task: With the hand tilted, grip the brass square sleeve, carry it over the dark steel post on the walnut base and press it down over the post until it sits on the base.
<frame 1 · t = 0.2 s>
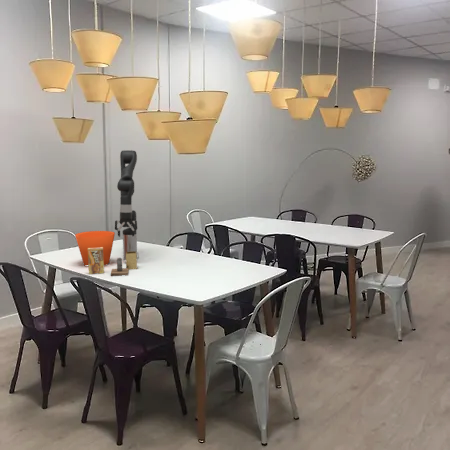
hand: (126, 236, 315), 18 cm above the table, tool pointing down, fingers open, 8 cm apart
flowerpot: (96, 264, 318), on the table
candy box: (96, 273, 293), on the table
sleeve: (131, 268, 305), on the table
post base: (119, 273, 292), on the table
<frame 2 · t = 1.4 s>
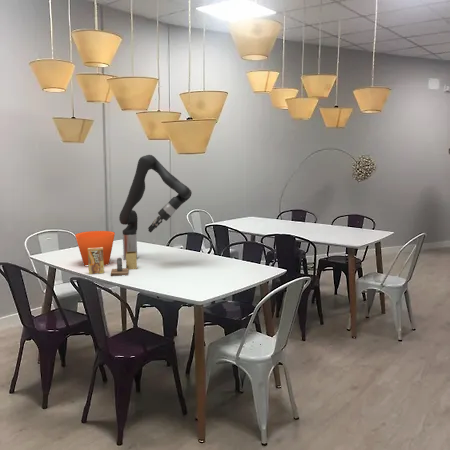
hand: (149, 230, 304), 24 cm above the table, tool tilted 45°, fingers open, 8 cm apart
nothing on the table moved.
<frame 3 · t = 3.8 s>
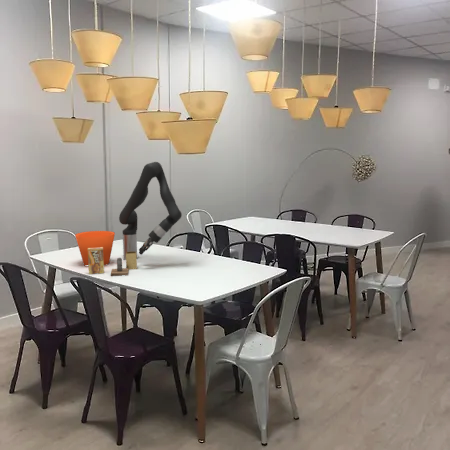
hand: (139, 252, 305), 10 cm above the table, tool tilted 45°, fingers open, 8 cm apart
nothing on the table moved.
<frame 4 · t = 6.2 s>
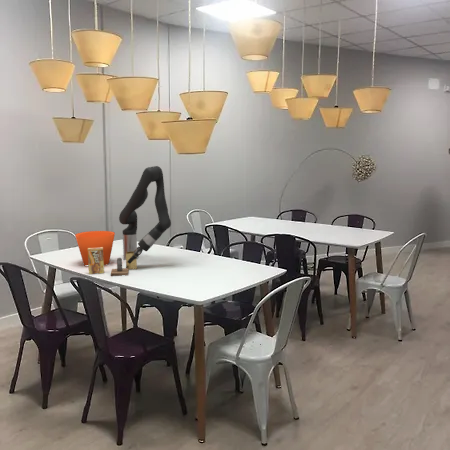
hand: (128, 261, 304), 4 cm above the table, tool tilted 45°, fingers closed on sleeve, 6 cm apart
sleeve: (131, 268, 305), on the table, touching gripper
everything else where it was.
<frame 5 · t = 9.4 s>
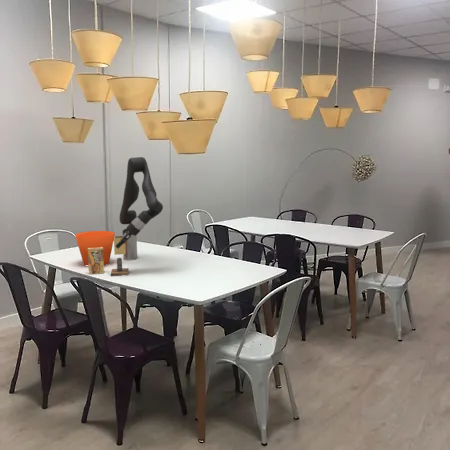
hand: (117, 246, 290), 16 cm above the table, tool tilted 45°, fingers closed on sleeve, 6 cm apart
sleeve: (120, 253, 291), point 12 cm above the table, touching gripper
everything else where it was.
when the fingers open (8 cm above the table, at t = 12.9 s): sleeve drops 2 cm, resting on post base.
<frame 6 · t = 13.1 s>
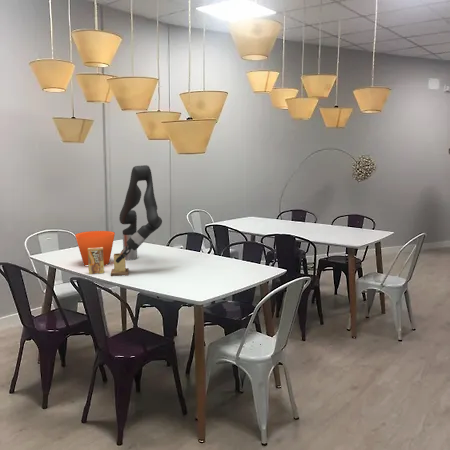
hand: (117, 260, 291), 8 cm above the table, tool tilted 45°, fingers open, 8 cm apart
sleeve: (120, 270, 292), point 1 cm above the table, touching post base
everything else where it was.
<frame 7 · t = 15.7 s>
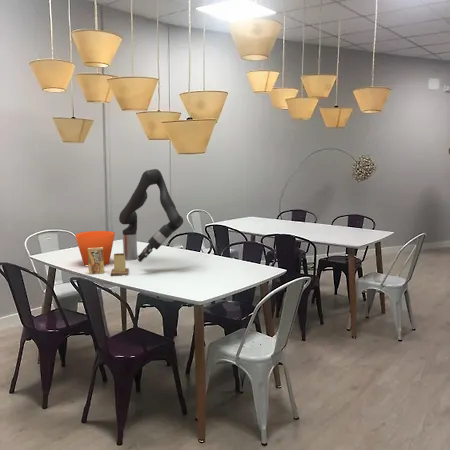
hand: (139, 259, 293), 8 cm above the table, tool tilted 45°, fingers open, 8 cm apart
nothing on the table moved.
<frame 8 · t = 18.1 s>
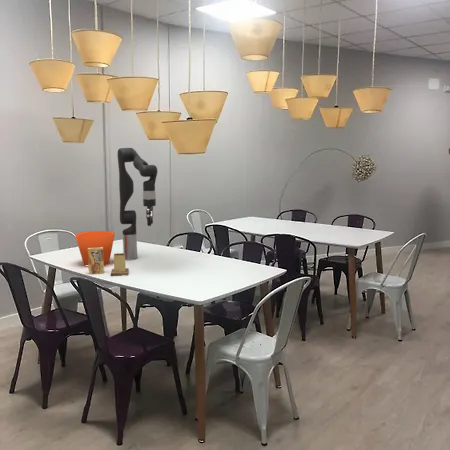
hand: (150, 224, 297), 28 cm above the table, tool pointing down, fingers open, 8 cm apart
nothing on the table moved.
at the end: sleeve 0.1 cm off-centre on the post base, point 1.5 cm above the post base's base; sleeve tilted 0°; the gripper is holding nothing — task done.
